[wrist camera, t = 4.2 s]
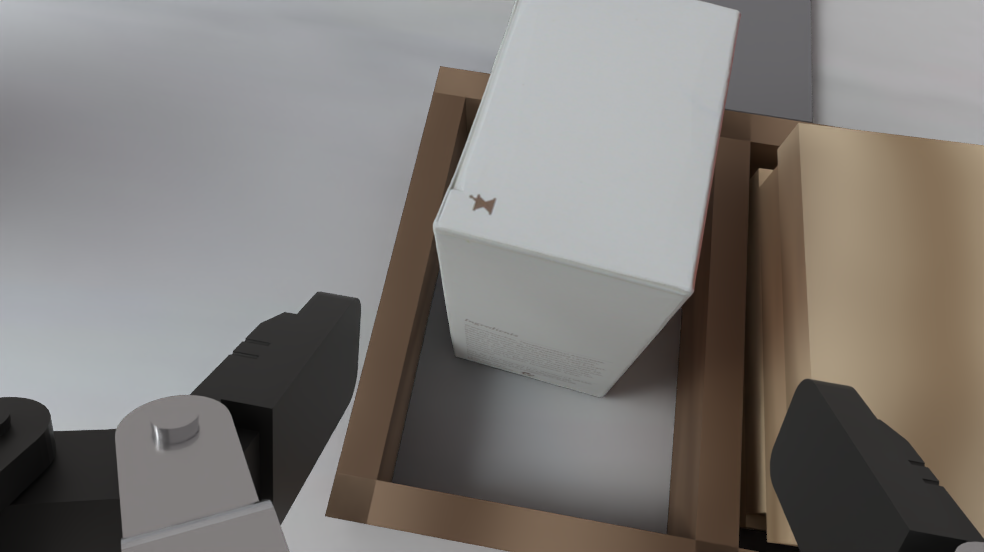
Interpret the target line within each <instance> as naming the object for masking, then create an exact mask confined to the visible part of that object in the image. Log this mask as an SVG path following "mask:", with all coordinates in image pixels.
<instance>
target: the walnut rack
mask: <svg viewBox="0 0 984 552" xmlns="http://www.w3.org/2000/svg"><path fill="white" fill-rule="evenodd" d="M489 77H490V74H487V73H481V72H474V71H468V70H461V69H455V68H448V67H442V66H440V69H439V73H438V77H437V81H436V85H435V89H434V92H433V96H432V100H431V104H430V108H429V112H428V116H427V120H426V124H425V128H424V132H423V135H422V139H421V143H420V147H419V151H418V155H417V159H416V163H415V167H414V171H413V174H412V178H411V182H410V186H409V190H408V194H407V198H406V202H405V206H404V210H403V213H402V217H401V221H400V225H399V229H398V233H397V237H396V241H395V245H394V249H393V253H392V256H391V260H390V264H389V268H388V272H387V276H386V280H385V284H384V288H383V292H382V295H381V299H380V303H379V307H378V311H377V315H376V319H375V323H374V327H373V331H372V335H371V338H370V342H369V346H368V350H367V354H366V358H365V362H364V366H363V370H362V374H361V377H360V381H359V385H358V389H357V393H356V397H355V401H354V405H353V409H352V413H351V416H350V420H349V424H348V428H347V432H346V436H345V440H344V444H343V448H342V452H341V456H340V459H339V463H338V467H337V471H336V475H335V479H334V483H333V487H332V491H331V495H330V498H329V502H328V506H327V510H326V514H325V516H327V517H332V518H338V519H343V520H348V521H353V522H358V523H364V524H369V525H374V526H379V527H385V528H390V529H395V530H400V531H405V532H411V533H416V534H421V535H426V536H432V537H437V538H442V539H447V540H452V541H458V542H463V543H468V544H473V545H479V546H484V547H489V548H494V549H499V550H505V551H510V552H757V551H752V550H747V549H742V548H739V517H740V483H741V449H742V415H743V381H744V346H745V312H746V278H747V244H748V209H749V180H750V179H751V177H752V176H753V175H754V174H755V172H756V171H757V170H758V168H762V169H770V170H774V169H775V168H776V167H777V165H778V153H777V149H778V148H779V147H780V146H781V144H782V143H783V142H784V140H785V139H786V138H787V137H788V135H789V134H790V133H791V132H792V130H793V129H794V128H795V127H796V125H797V124H798V123H804V124H812V125H820V124H814V123H807V122H801V121H794V120H788V119H781V118H775V117H768V116H762V115H755V114H749V113H742V112H735V111H729V110H724V116H723V122H722V128H721V133H720V139H719V145H718V151H717V157H716V163H715V169H714V175H713V180H712V186H711V192H710V198H709V204H708V210H707V216H706V222H705V228H704V234H703V240H702V246H701V252H700V258H699V264H698V269H697V275H696V281H695V288H694V292H693V294H692V295H691V296H690V297H689V298H688V299H687V300H686V302H685V303H684V304H683V306H682V320H681V335H680V350H679V364H678V379H677V393H676V408H675V423H674V437H673V452H672V467H671V481H670V496H669V511H668V525H667V534H662V533H656V532H651V531H646V530H640V529H635V528H630V527H624V526H619V525H614V524H608V523H603V522H598V521H592V520H587V519H582V518H576V517H571V516H566V515H560V514H555V513H550V512H544V511H539V510H534V509H528V508H523V507H518V506H512V505H507V504H502V503H496V502H491V501H486V500H480V499H475V498H470V497H465V496H459V495H454V494H449V493H443V492H438V491H433V490H427V489H422V488H417V487H411V486H406V485H401V484H395V483H391V482H392V478H393V473H394V469H395V464H396V460H397V455H398V451H399V446H400V442H401V437H402V433H403V428H404V424H405V420H406V415H407V411H408V406H409V402H410V397H411V393H412V388H413V384H414V379H415V375H416V370H417V366H418V362H419V357H420V353H421V348H422V344H423V339H424V335H425V330H426V326H427V321H428V317H429V312H430V308H431V303H432V299H433V295H434V290H435V286H436V281H437V277H438V272H439V268H440V265H439V259H438V253H437V248H436V241H435V236H434V232H433V223H434V220H435V218H436V216H437V213H438V211H439V209H440V206H441V204H442V201H443V199H444V196H445V194H446V192H447V189H448V187H449V185H450V183H451V180H452V178H453V176H454V173H455V171H456V168H457V165H458V163H459V160H460V157H461V155H462V152H463V150H464V147H465V144H466V142H467V139H468V136H469V133H470V130H471V128H472V125H473V122H474V119H475V117H476V114H477V111H478V108H479V106H480V103H481V100H482V97H483V94H484V92H485V89H486V86H487V83H488V80H489ZM820 126H827V125H820ZM829 127H833V126H829ZM837 128H840V127H837ZM845 129H847V128H845Z"/></svg>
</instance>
